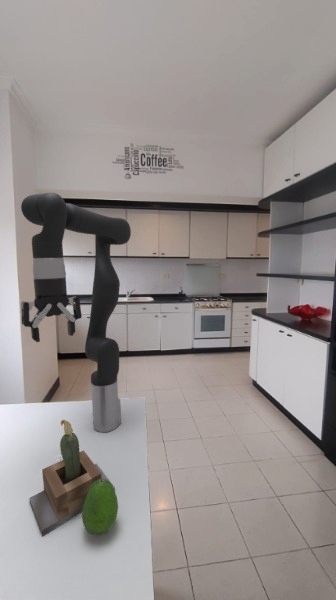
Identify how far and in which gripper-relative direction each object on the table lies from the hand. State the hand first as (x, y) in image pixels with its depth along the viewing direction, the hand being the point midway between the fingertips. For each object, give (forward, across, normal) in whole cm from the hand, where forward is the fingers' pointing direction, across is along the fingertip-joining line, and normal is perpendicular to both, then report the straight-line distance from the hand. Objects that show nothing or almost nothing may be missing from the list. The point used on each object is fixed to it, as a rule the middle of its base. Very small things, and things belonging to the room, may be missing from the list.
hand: (54, 338), depth 72 cm
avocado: (+40, -1, +21) cm, 45 cm away
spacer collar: (+40, +1, +9) cm, 41 cm away
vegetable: (+39, +1, +9) cm, 40 cm away
